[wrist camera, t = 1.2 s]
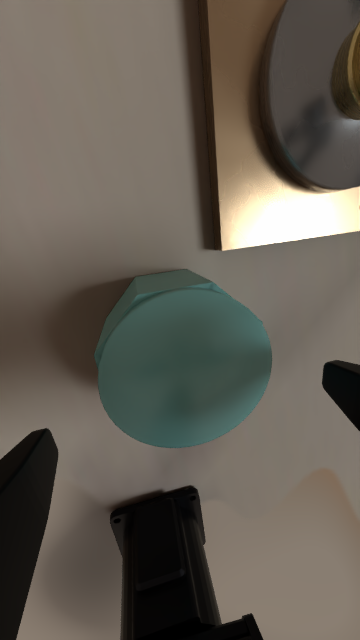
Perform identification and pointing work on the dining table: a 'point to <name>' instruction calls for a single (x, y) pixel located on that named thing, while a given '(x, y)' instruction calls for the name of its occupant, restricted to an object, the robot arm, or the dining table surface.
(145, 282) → the cap
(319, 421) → the dining table surface
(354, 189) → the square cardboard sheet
